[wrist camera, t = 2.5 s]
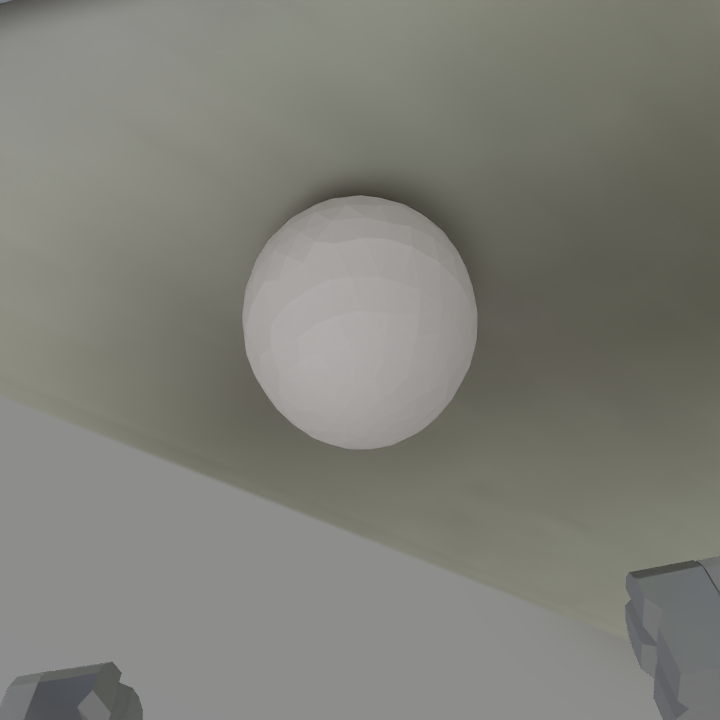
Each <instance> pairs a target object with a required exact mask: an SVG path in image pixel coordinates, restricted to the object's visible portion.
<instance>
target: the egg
mask: <svg viewBox="0 0 720 720" xmlns="http://www.w3.org/2000/svg"><path fill="white" fill-rule="evenodd" d="M477 320H478V313H477V307H476V302H475V296H474V291H473V286H472V283H471V280H470V277H469V274H468V271H467V268H466V266H465V264H464V262H463V260H462V258H461V256H460V255H459V253H458V251H457V249H456V248H455V247H454V245H453V244H452V243H451V241H450V240H449V239H448V237H447V236H446V234H445V233H444V232H443V231H442V230H441V229H440V228H439V227H437V226H436V225H435V224H434V223H433V222H431V221H430V220H429V219H428V218H426V217H425V216H424V215H422V214H421V213H419V212H417V211H415V210H413V209H412V208H410V207H408V206H406V205H404V204H401V203H398V202H394V201H390V200H386V199H383V198H378V197H370V196H363V195H359V196H350V197H341V198H333V199H329V200H326V201H323V202H320V203H318V204H316V205H314V206H312V207H310V208H308V209H306V210H304V211H302V212H301V213H299V214H297V215H295V216H293V217H292V218H291V219H289V220H288V221H287V222H286V223H285V224H284V225H283V226H282V227H281V228H280V229H279V230H278V231H277V232H276V233H275V234H274V235H273V236H272V237H271V238H270V239H269V240H268V241H267V243H266V244H265V246H264V248H263V249H262V251H261V253H260V254H259V256H258V258H257V260H256V262H255V264H254V267H253V270H252V272H251V275H250V277H249V280H248V283H247V285H246V289H245V297H244V305H243V312H242V322H243V331H244V340H245V348H246V354H247V357H248V359H249V362H250V365H251V367H252V370H253V373H254V375H255V377H256V379H257V380H258V382H259V384H260V385H261V387H262V389H263V390H264V392H265V393H266V395H267V396H268V397H269V399H270V400H271V402H272V403H273V405H274V406H275V407H276V409H277V410H278V411H279V412H280V413H281V414H283V415H284V416H285V417H286V418H287V419H288V420H289V421H290V422H291V423H292V424H293V425H295V426H296V427H297V428H299V429H300V430H302V431H303V432H305V433H306V434H308V435H309V436H311V437H312V438H314V439H317V440H319V441H322V442H325V443H328V444H331V445H334V446H338V447H342V448H345V449H376V448H381V447H386V446H391V445H394V444H396V443H398V442H400V441H402V440H404V439H406V438H408V437H410V436H413V435H415V434H417V433H419V432H420V431H421V430H423V429H424V428H425V427H426V426H428V425H429V424H430V423H431V422H433V421H434V420H435V419H436V418H437V417H438V416H439V415H440V413H441V412H442V411H443V410H444V409H445V408H446V406H447V405H448V404H449V403H450V402H451V400H452V399H453V397H454V396H455V394H456V392H457V390H458V388H459V386H460V385H461V383H462V381H463V379H464V377H465V375H466V374H467V372H468V370H469V367H470V364H471V360H472V357H473V353H474V349H475V346H476V340H477Z"/></svg>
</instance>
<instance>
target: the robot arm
mask: <svg viewBox="0 0 720 720" xmlns="http://www.w3.org/2000/svg"><path fill="white" fill-rule="evenodd" d="M626 589H627V591H628V594H629V596H630V598H631V600H630V601H629V602H628V603H627V604H626V605H625V616H626V624H627V629H628V634H629V638H630V641H631V644H632V647H633V650H634V653H635V655H636V657H637V660H638V662H639V665H640V667H641V669H642V670H644V671H645V672H646V673H648V674H649V675H650V676H652V677H653V678H654V679H655V680H654V700H655V702H656V704H657V707H658V709H659V711H660V714H661V716H662V718H663V720H720V556H719V557H713V558H708V559H703V560H698V561H694V560H691V561H686V562H681V563H675V564H670V565H665V566H660V567H654V568H649V569H644V570H638V571H633V572H629V573H628V574H627V576H626ZM120 677H121V672H120V670H119V669H118V668H117V667H116V665H115V664H114V663H113V662H107V663H100V664H94V665H88V666H82V667H75V668H69V669H63V670H56V671H47V672H42V673H36V674H30V675H24V676H19V677H17V678H16V679H15V680H14V681H13V682H12V683H11V685H10V686H9V687H8V689H7V691H6V693H5V696H4V698H3V700H2V703H1V705H0V720H143V709H142V706H141V703H140V700H139V696H138V695H137V694H136V692H135V691H134V689H133V688H131V687H129V686H127V685H124V684H122V683H120V682H119V681H120Z"/></svg>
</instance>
